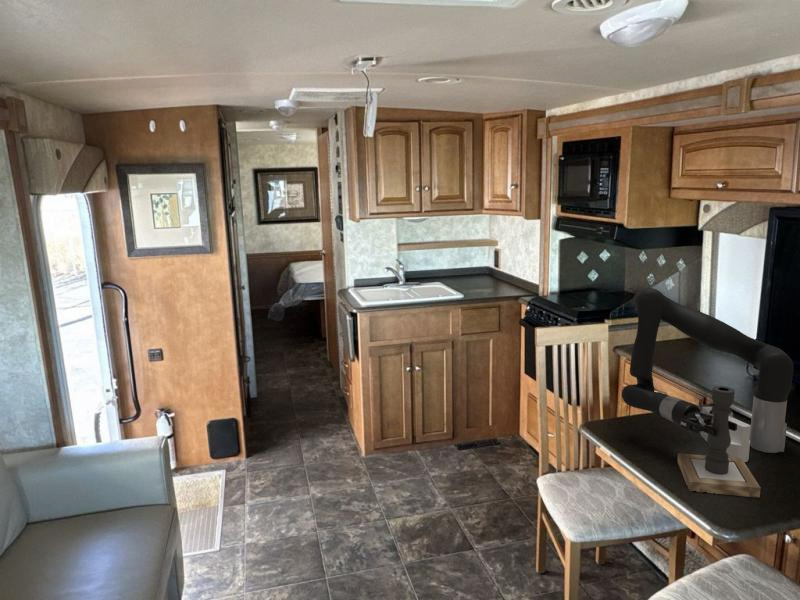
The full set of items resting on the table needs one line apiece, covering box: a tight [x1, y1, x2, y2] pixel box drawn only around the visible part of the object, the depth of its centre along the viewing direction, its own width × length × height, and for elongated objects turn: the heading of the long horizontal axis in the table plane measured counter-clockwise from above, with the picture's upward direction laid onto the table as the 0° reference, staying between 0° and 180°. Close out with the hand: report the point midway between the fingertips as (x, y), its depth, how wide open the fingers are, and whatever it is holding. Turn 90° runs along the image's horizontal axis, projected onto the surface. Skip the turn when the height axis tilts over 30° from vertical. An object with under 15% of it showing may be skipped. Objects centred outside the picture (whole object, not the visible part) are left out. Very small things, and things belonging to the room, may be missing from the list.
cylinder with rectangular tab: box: [726, 416, 751, 464], centre depth 192 cm, size 9×9×12 cm
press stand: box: [677, 452, 762, 499], centre depth 179 cm, size 18×18×3 cm
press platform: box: [690, 459, 745, 482], centre depth 179 cm, size 12×12×2 cm
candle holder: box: [705, 385, 736, 475], centre depth 177 cm, size 6×6×25 cm
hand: (727, 430), depth 175 cm, fingers open, 7 cm apart
